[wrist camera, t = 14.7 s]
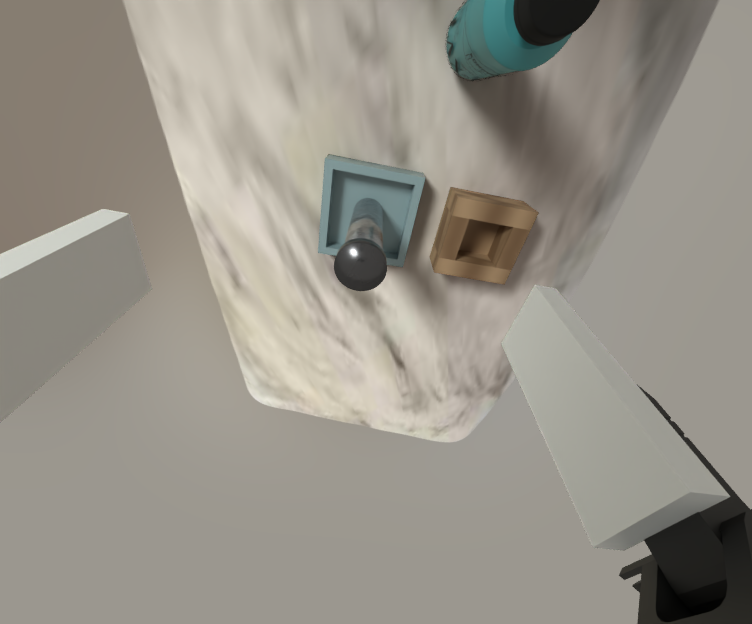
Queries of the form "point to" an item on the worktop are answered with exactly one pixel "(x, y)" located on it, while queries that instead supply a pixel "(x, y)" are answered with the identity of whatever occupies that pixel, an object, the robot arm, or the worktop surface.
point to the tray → (369, 180)
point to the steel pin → (363, 248)
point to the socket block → (480, 235)
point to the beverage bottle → (511, 34)
